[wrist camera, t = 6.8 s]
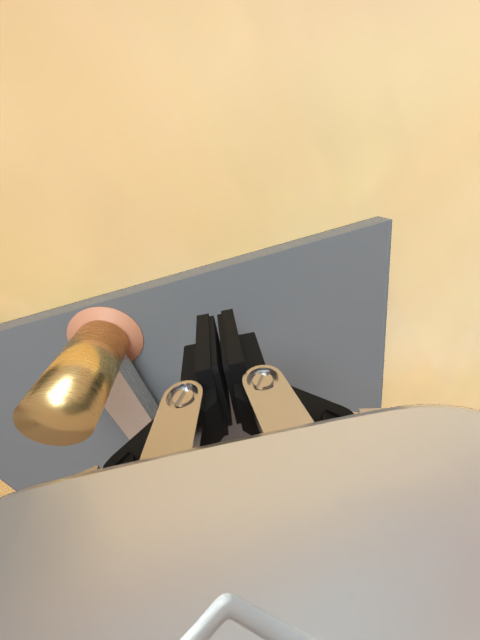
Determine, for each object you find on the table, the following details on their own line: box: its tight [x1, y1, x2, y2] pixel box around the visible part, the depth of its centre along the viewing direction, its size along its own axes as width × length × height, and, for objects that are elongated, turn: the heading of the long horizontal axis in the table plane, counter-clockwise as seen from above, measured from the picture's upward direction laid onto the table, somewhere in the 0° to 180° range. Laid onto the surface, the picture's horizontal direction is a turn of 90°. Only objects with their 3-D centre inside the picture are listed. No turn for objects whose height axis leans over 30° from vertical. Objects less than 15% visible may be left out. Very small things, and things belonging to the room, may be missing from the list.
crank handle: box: [13, 320, 158, 446], centre depth 15 cm, size 16×6×5 cm, turn 15°
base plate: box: [0, 217, 392, 491], centre depth 17 cm, size 28×16×1 cm, turn 104°
